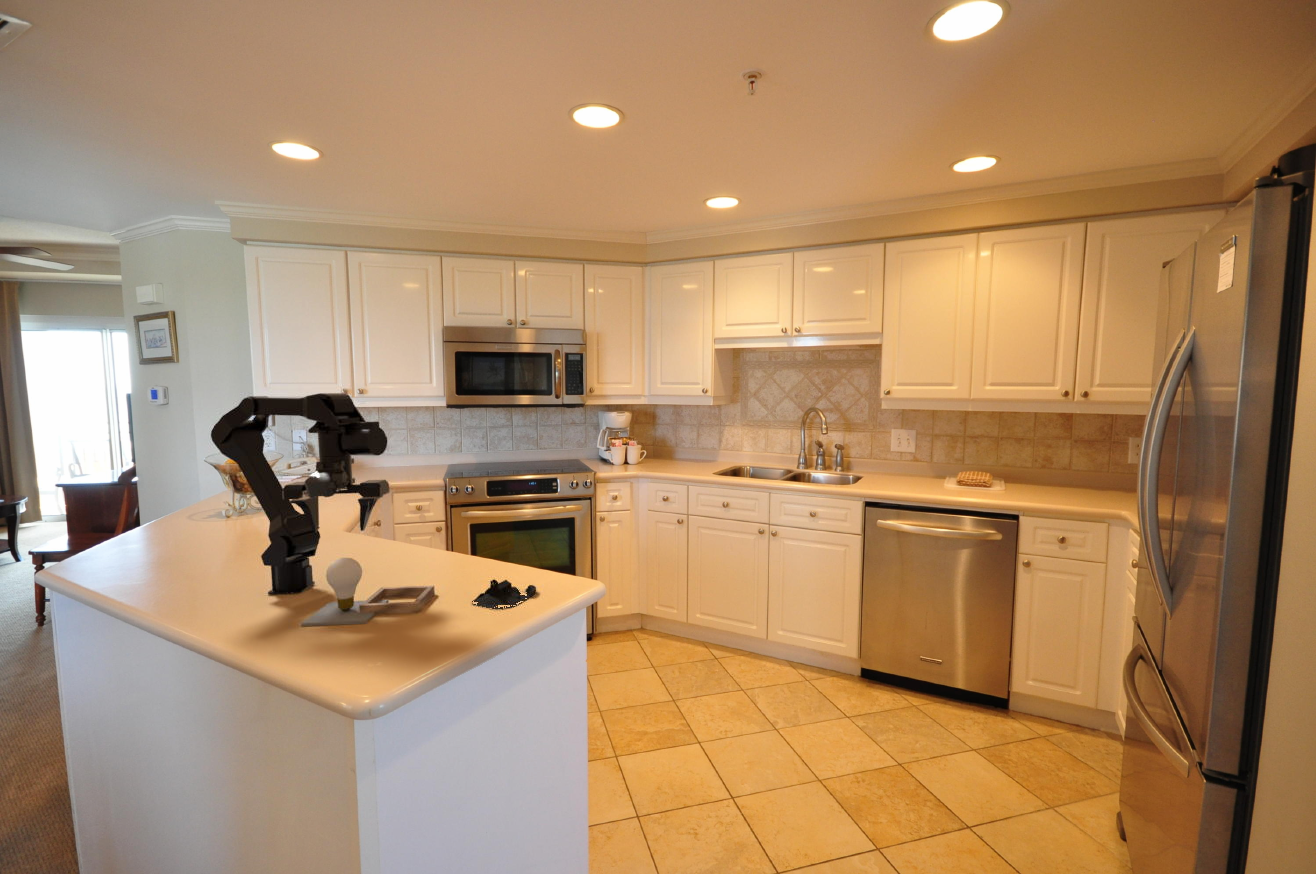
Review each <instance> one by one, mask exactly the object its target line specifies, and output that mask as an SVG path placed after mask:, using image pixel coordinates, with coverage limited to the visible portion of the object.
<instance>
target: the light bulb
mask: <svg viewBox="0 0 1316 874" xmlns="http://www.w3.org/2000/svg"><path fill="white" fill-rule="evenodd" d="M362 569H363V568H362V566H361V565H360V563H359V562H358V561H357V560H356V559H354V558H351V557H340V558H338V559H335V560H334V561H332V562H331V564H330V565H329V566H328V567H327V570H326V573H325V574H326V575H325V576H326V577H325V579H326V581H327V584H328V585H329V586H330V587H331V588H332V590H333V592H334V594H335V597H336V600H337V601H336V602H338V608H339V609H341V610H342V611H348V610H350V609H351V608H352V607H353V606H354V601H355V599H354V598H355V594H356V590H357V586H358V584H359V583H360V581H361V579H362V577H363V570H362Z"/></svg>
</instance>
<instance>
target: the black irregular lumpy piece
mask: <svg viewBox="0 0 1316 874" xmlns="http://www.w3.org/2000/svg"><path fill="white" fill-rule="evenodd" d="M489 583H490V585H489V587H488V588H487V589H485V591H484V592H482V593H479V595H477V597H476V598H475V599H473V600H472V601H471V602H473V601H474V602H478V603H477V606H476V607H479V606H482V607H481V608H483V607H486V608H485V609H487V608H492V609H502V610H504V609H503V607H500V608H498V605H510V607H507V606H506V608H509V609H513V608H516V607H518V606H519V604H520V605H521V604H523V603H522V602H521V603H519V604H518V606H517V604H516V603H518V602H520V601H525V602H527V601H528V600H530V599H532V598H533V597H535V596H536V595H537V587H536V586H535V585H534V584H533V585H532V584H530V585H528V586H527V588H526V590H525V592H527V593H526V594H527V596H525V595H520V594H521V593H520V592H521V591H520V589H519V588H518V587H516V586H512V585H513V584H512V582H510V581H508V580H507V579H505V580H503V581H500V582H499V581H497V580H496V579H495V578H494V579H492V580H490V582H489ZM517 588H518V589H519V590H518V589H517ZM519 591H520V592H519ZM535 594H536V595H535ZM534 595H535V596H534ZM525 598H527V599H528V600H527V599H525ZM529 598H530V599H529ZM472 604H473V603H472ZM475 605H476V604H473V605H472V606H475ZM511 605H512V606H511ZM513 605H516V607H515V606H513ZM496 606H497V607H496ZM494 607H495V608H494ZM512 607H513V608H512ZM504 608H505V606H504ZM492 609H491V610H492Z"/></svg>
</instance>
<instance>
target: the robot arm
mask: <svg viewBox="0 0 1316 874" xmlns="http://www.w3.org/2000/svg"><path fill="white" fill-rule="evenodd" d="M252 416H254V417H253V418H252ZM271 416H291V417H293V416H295V417H296V416H297V417H303V418H305V419H307V420H310V421H314V422H315V424H313V425H312V426H311V427H310V428H309V429H308V430H307V431H308V433H309V434H317V442H318V461H316V463H315V469H314V470H315V471H314V472H312V473H311V475H309V476H308V477H307V479H305V480H304V481H295V482H292V483H288V484H285V485H284V487H283V486H282V484H281V483H280V480H279V479H278V477H277V475H276V473H275V472H274V470H273V468H272V466H271V464H270V463H269V461H268V460H267V458H266V456H265V454H264V449H265V441H266V440H265V438H264V435H263V433H265V431H266V429H267V428H268V427H269V420H270V419H269V418H270V417H271ZM251 418H252V420H251ZM210 439H211V441H212V443H213V445H215V446H216V448H217V449H218V450H219V452H220V454H221V455H223V456H225V457H226V458H228V459H230V460H231V461H232V462H235V463H236V464H237V465H238V467H239V470H240V471H241V473H242V474H243V476H244V478H245V480H246V482H247V483H248V485H249V487H250V489H251V491H252V492H253V494H254V496H255V497H256V500H257V501H258V503H259V504H260V506H261V508H262V510H263V512H264V514H265V515H266V517H267V519H268V521H269V527H268V534H267V535H268V539H269V541H270V544H269V546H268V547H267V548H266V549H265V550H264V551H263V553H262V554H261V556H260V558H261V561H262V564H263V565H264V566H266V567H270V575H271V589H270V590H269V591H267V594H268V595H284V594H289V595H290V594H301V593H303V592H304V591H305V590H308V589H309V588H310V587H312V586H314V585H315V581H314V580H313V579H314V578H313V566H312V564H310V563H311V562H310V557H315V556H316V552H317V550H318V546H319V544H320V539H321V533H320V530H319V529H320V526H319V525H320V517H319V516H320V515H319V514H320V513H319V511H320V510H319V509H320V508H319V504H320V503H319V497H324V498H330V497H333V496H335V495H341V494H358V495H360V496H361V497H360V498H358V499H357V502H358V504H359V529H360V531H361V532H364V531H365V530H366V527H367V524H368V522H369V520H370V517H371V514H372V512H373V509H374V507H375V505H376V504H377V501H378V500H379V499H381V498H384V495H387V494H389V493H390V483H389V482H388V481H387V480H386V479H368V480H365V481H361V482H360V483H358V484H357V483H356V478H355V477H353V467H352V465H353V464H355V458H353V457H352V456H375V457H376V456H380V455H383V454H384V453H385V451H386V449H387V446H388V437H387V435H386V433H385V431H384V429H383V428H382V427H380V421H378V420H377V421H366V420H365V418H364V417H363V416H362V414H361V412H360V411H359V409H358V408H357V407H356V405H355V404H354V401H353V399H352V398H351V396H350V394H349V393H348V394H347V393H344V392H343V393H342V392H337V393H336V392H328V393H327V392H323V393H320V392H319V393H315V394H310V395H306V396H303V397H269V396H266V395H260V396H259V395H257V396H254V395H253V396H250V395H249V396H247V397H244V398H243V399H242V400H241V401H240V402H239V404H238V405H237V406H235V407H234V408H232V409H231V410H229V411H228V412H227V413H224V414H223V415H222V416H221V417H220V419H218V421H217V422H215V424H214V426H213V428H212V429H211V432H210ZM355 483H356V484H355ZM293 504H294V505H296V506H298V507H299V508H300V509H301V511H302V512H303V513H301V512H299V511H297V510H296V508H295V507H294V506H293Z"/></svg>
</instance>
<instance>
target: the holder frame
mask: <svg viewBox="0 0 1316 874" xmlns="http://www.w3.org/2000/svg"><path fill="white" fill-rule="evenodd" d="M435 594H436V593H435V585H433V584H432V585H415V586H414V585H412V586H411V585H410V586H387V587H385V586H384V587H383V586H382V587H380V588H378V590H376V591H375V592H374V593H373V594H372V595H370V596H369V597H368V598H367V599H365V600H363V601H364V602H363V603H362V604H361V605H360V606H359V611H360V613H363V612H375V615H377V616H378V615H398V614H399V615H400V614H401V615H402V614H418V613H420V612H421V610H422V609H423V608H424V607H425V606H426V605H427V604H428V602H429V601H430V600H431V599H432V598H433V597H434V596H435ZM405 597H406V598H409V597H410V598H411V597H417V598H416V599H415V600H414V601H404V602H402V601H399V602H388V603H376V602H378V601H379V600H385V598H388V599H389V598H405ZM375 615H374V616H375Z"/></svg>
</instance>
